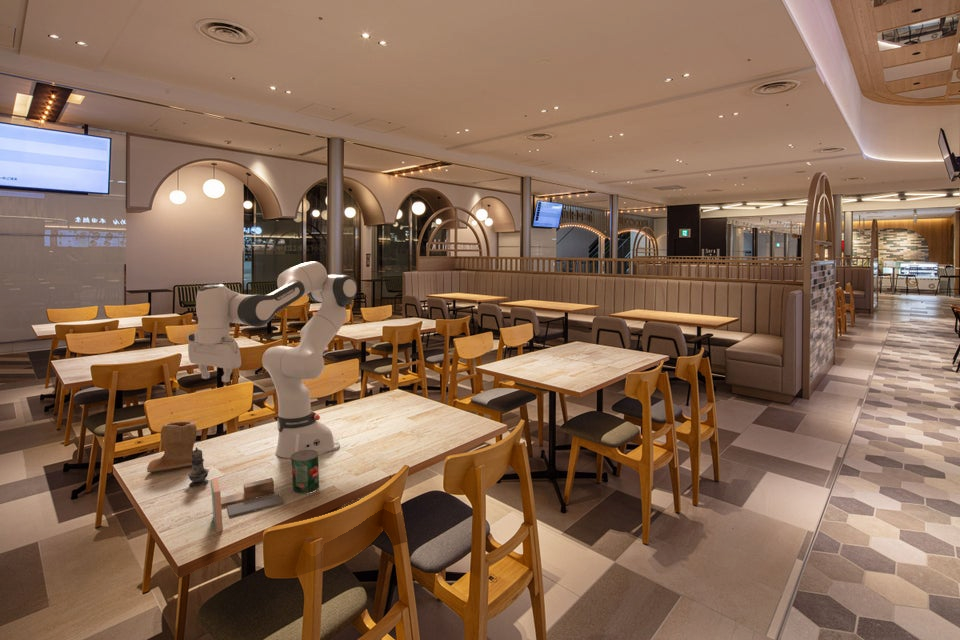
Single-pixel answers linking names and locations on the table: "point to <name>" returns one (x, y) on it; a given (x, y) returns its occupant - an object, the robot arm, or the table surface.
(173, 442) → the tan suede boot
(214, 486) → the tile
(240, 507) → the grey flat slab
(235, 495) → the wooden l-shaped bracket
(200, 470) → the dark grey stupa figurine
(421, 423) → the table surface
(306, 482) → the canned tomato
